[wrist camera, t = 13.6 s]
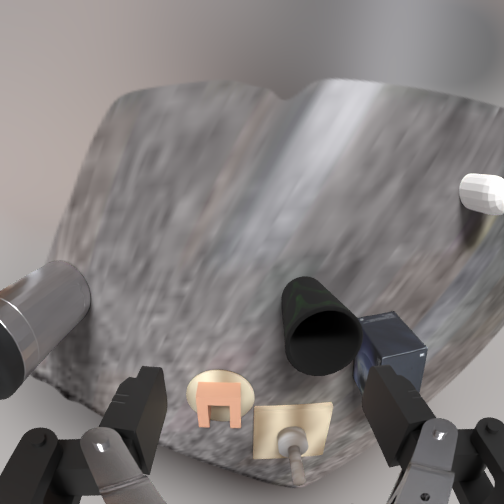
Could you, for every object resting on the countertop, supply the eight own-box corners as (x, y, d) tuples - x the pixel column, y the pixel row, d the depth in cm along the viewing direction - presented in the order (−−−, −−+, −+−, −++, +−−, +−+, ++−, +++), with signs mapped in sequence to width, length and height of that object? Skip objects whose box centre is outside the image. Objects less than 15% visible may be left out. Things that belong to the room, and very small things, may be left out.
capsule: (468, 217, 39) (504, 227, 31) (453, 187, 38) (489, 192, 30) (488, 195, 38) (523, 202, 30) (474, 166, 37) (510, 168, 29)
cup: (324, 327, 42) (350, 378, 30) (268, 320, 41) (278, 373, 30) (338, 272, 40) (373, 311, 29) (280, 264, 40) (295, 302, 28)
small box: (352, 317, 42) (380, 357, 32) (395, 309, 42) (430, 345, 32) (350, 378, 45) (372, 424, 34) (389, 369, 45) (417, 411, 34)
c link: (198, 381, 43) (195, 396, 40) (240, 382, 43) (240, 397, 40) (201, 411, 45) (199, 426, 41) (240, 412, 45) (240, 428, 41)
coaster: (189, 418, 45) (189, 419, 45) (183, 368, 43) (183, 369, 43) (253, 419, 46) (253, 421, 45) (254, 369, 43) (254, 371, 43)
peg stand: (252, 454, 48) (255, 504, 37) (254, 406, 45) (257, 460, 34) (321, 450, 48) (333, 497, 37) (331, 401, 45) (349, 452, 35)
